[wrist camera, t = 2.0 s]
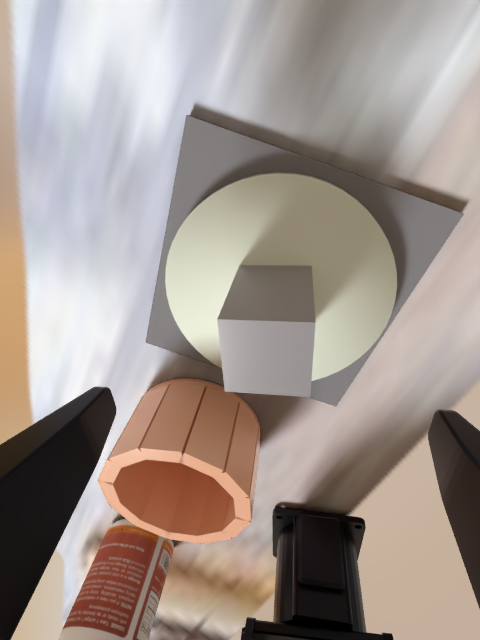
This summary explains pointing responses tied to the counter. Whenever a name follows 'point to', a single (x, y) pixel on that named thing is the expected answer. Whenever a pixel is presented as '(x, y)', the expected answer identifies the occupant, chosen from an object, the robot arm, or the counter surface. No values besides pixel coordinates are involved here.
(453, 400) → the counter surface
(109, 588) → the pill bottle
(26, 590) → the robot arm
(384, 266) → the lid
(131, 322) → the counter surface
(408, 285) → the mat
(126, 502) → the bowl
